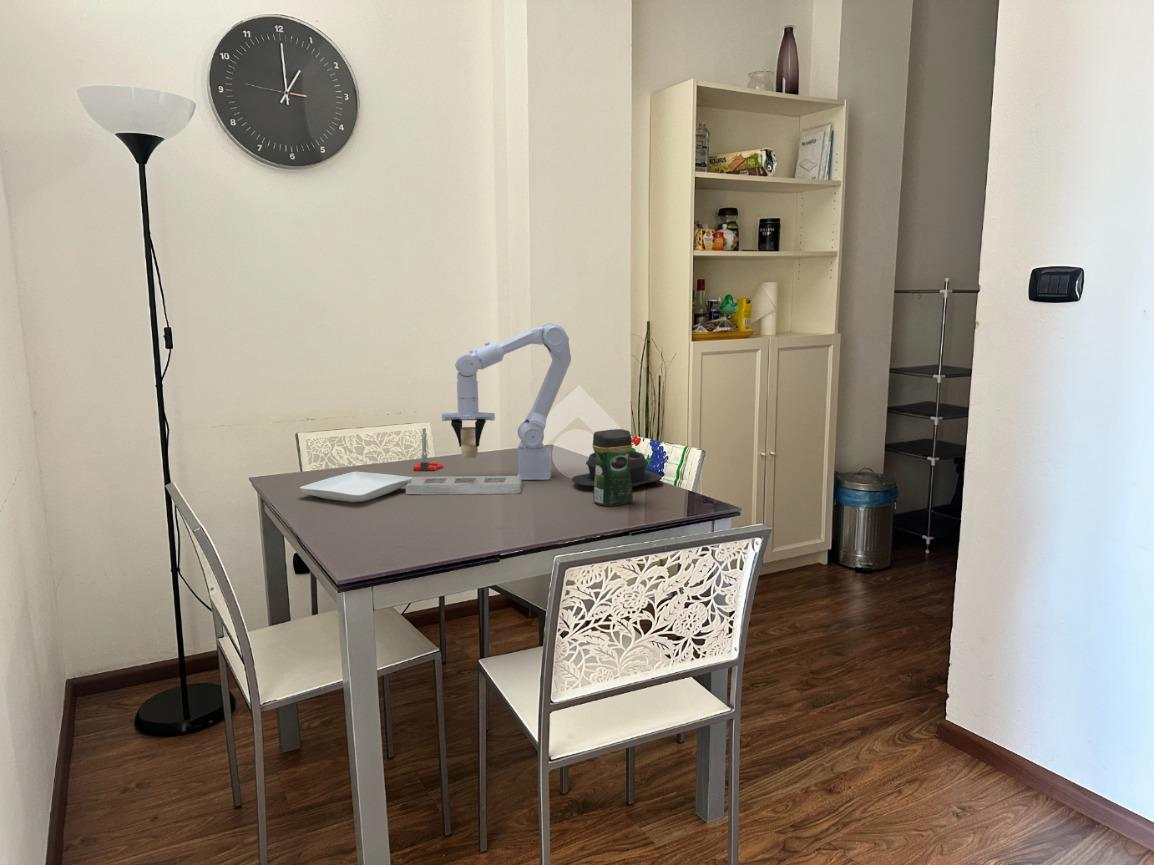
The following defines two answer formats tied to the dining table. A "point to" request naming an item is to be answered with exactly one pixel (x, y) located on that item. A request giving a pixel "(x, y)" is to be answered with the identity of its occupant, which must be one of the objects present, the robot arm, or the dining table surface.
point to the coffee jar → (612, 467)
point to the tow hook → (424, 464)
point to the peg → (468, 442)
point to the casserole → (636, 471)
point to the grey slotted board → (465, 485)
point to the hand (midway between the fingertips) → (469, 446)
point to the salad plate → (356, 486)
